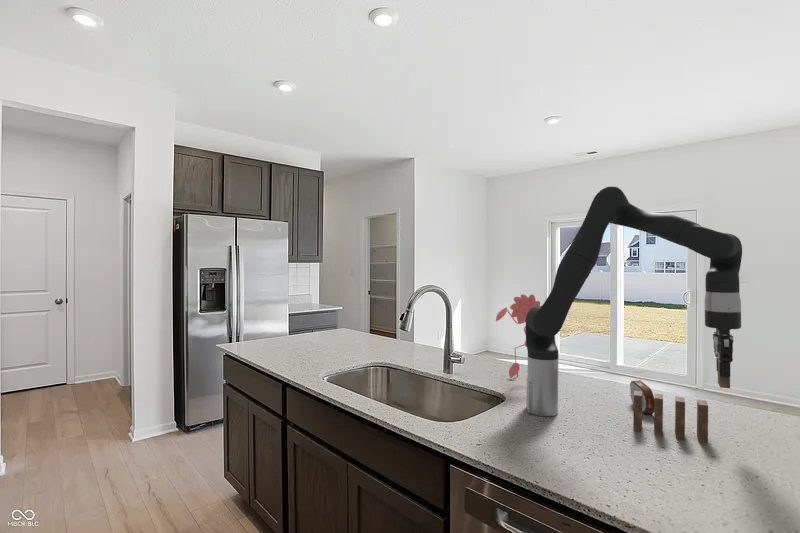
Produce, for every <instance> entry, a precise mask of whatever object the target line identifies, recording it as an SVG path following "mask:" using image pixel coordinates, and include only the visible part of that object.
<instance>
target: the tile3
mask: <svg viewBox="0 0 800 533" xmlns="http://www.w3.org/2000/svg"><path fill="white" fill-rule="evenodd" d="M674 399H675V401H674V402H675V405H674V408H675V409H674V413H675V414H674V416H675V417H674V418H675V419H674V433H675V434H674V435H675V439H677V440H678V439H679V440H683V441H686V436H685V435H686V400H685V397H683V396H675V398H674Z"/></svg>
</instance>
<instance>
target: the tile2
mask: <svg viewBox="0 0 800 533" xmlns="http://www.w3.org/2000/svg"><path fill="white" fill-rule="evenodd" d="M653 396H654V413H653V420H654V421H653V424H654V425H653V435H656V436H662V437H663V434H664V433H663V432H664V431H663V429H664V428H663V426H664V420H663V419H664V395H663V394H661V393H656V392H655V393H654V394H653Z"/></svg>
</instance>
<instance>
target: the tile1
mask: <svg viewBox="0 0 800 533" xmlns="http://www.w3.org/2000/svg"><path fill="white" fill-rule="evenodd" d="M632 418H633V421H632V422H633V425H632V426H633V428H632V429H633V431H635V432H640V433H642V429H643V413H642V391H634V404H633V417H632Z"/></svg>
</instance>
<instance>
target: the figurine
mask: <svg viewBox="0 0 800 533" xmlns="http://www.w3.org/2000/svg"><path fill="white" fill-rule="evenodd" d="M513 302H514V303H512V304H511V305H510V306H509V308H510V310H512V312H511V313H510V311H509V310H508V307H504V308H502V309H501V310H499V312H498V313H497V314H496V316H495V322H498V321H500V320H501V319H503V317H505V316H506V313H508V315H509V316H510V318H512V320H513V321H514V323H516V325H522V324H524V323H525V324H526V317H527V314H528V312H529V311H530V309H532V308H533V307H536V306H541V301H539V300H536V296H535V295H534V294H530V295H529V296H527V295H526V294H524V293H523V294H520V296H514V297H513ZM515 318H516V319H515ZM523 332H524V334H525V336H526V325H525V326H524V327H523ZM523 346H525V347H526V348H527V346H526V340H525V341H524V344H522V345H519V346H516V347H514V349H513V350H514V360H515V361H514V363H513V364H512V365H511V366H510V367H509V370H508V377H509V379H512V378H514V377H515V376H516V377H519V371H520V364H519V363H518V362H517V353H516V351H517V350H516V349H518V348H521V347H523Z"/></svg>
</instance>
